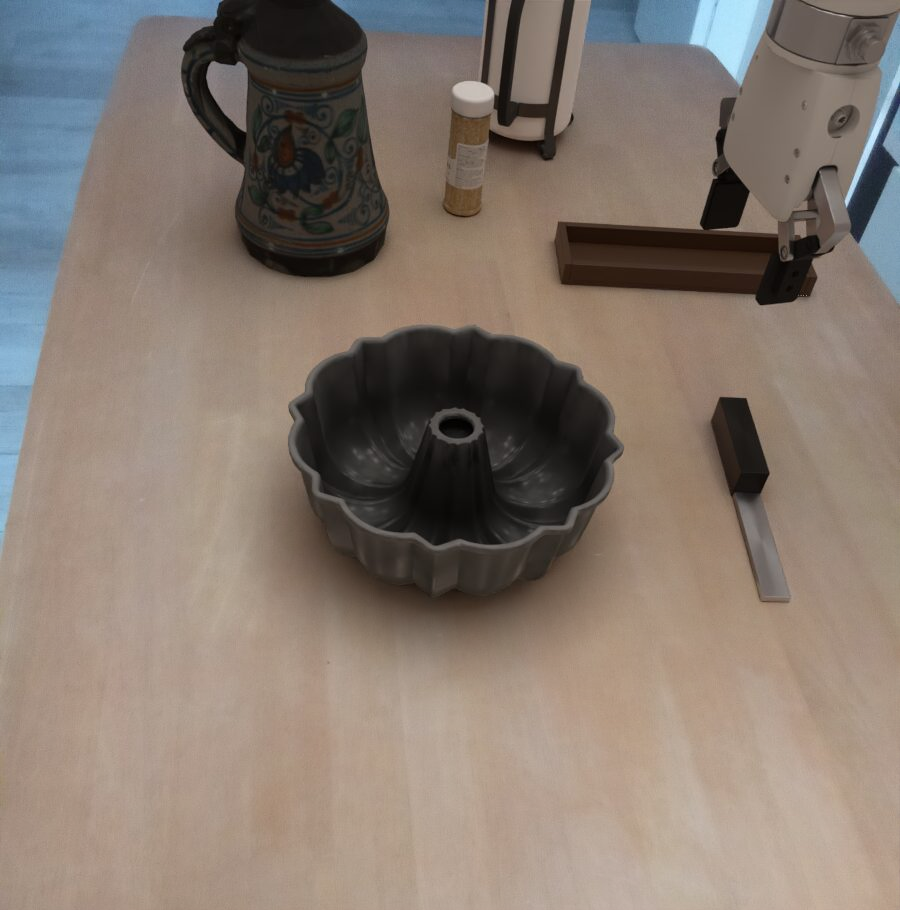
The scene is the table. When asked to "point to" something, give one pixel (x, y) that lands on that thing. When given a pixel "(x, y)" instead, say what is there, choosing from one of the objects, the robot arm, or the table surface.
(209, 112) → the beer stein
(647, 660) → the table surface
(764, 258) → the cutlery tray
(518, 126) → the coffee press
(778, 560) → the knife
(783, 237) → the robot arm
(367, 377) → the bundt pan
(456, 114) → the sprinkles bottle
